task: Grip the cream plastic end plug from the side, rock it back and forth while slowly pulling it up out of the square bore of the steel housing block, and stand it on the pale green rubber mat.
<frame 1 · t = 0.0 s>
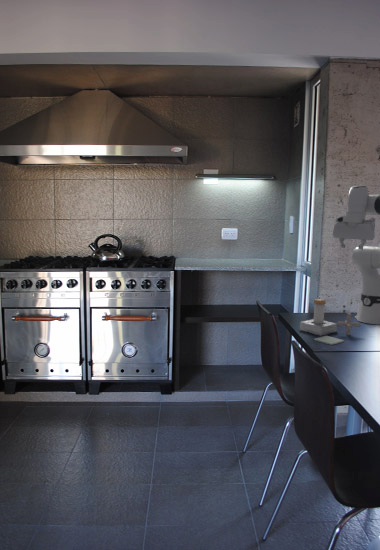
hand: (351, 248, 214), 39 cm above the table, tool pointing down, fingers open, 8 cm apart
rubber mat: (328, 340, 196), on the table
housing block: (318, 331, 212), on the table
pipe connector: (347, 335, 206), on the table
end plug: (318, 315, 211), in the housing block
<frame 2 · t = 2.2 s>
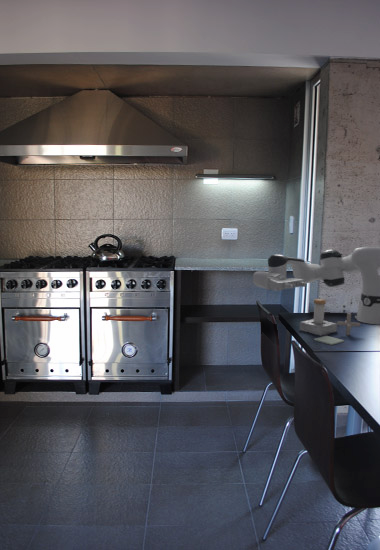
hand: (299, 285, 219), 20 cm above the table, tool horizontal, fingers open, 8 cm apart
nothing on the table moved.
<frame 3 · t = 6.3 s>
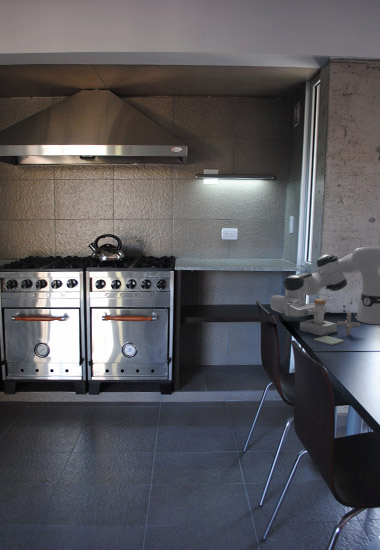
hand: (320, 312, 210), 9 cm above the table, tool horizontal, fingers closed on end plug, 4 cm apart
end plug: (318, 315, 211), in the housing block, touching gripper
everything else where it was.
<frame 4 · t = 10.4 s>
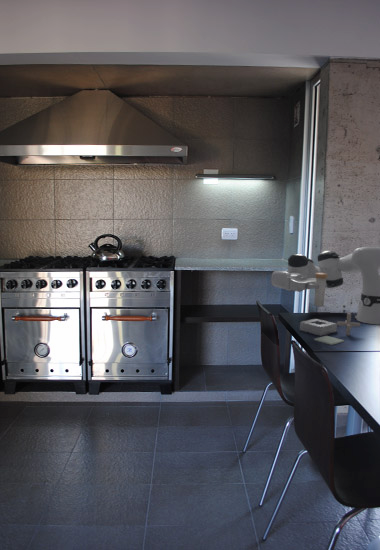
hand: (322, 286, 206), 22 cm above the table, tool horizontal, fingers closed on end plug, 4 cm apart
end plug: (320, 289, 207), point 20 cm above the table, touching gripper
everything else where it was.
when the fingers open (11 cm above the table, at t = 14.4 s): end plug drops 1 cm, resting on rubber mat.
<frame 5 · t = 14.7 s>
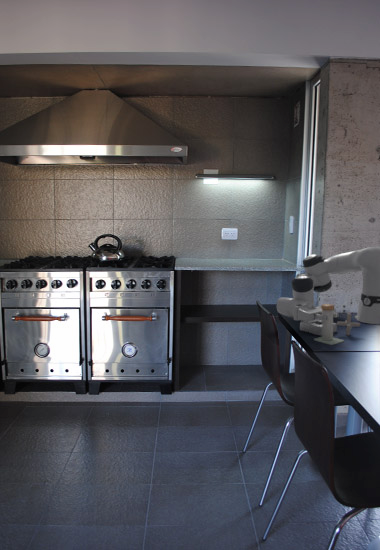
hand: (332, 316, 193), 11 cm above the table, tool horizontal, fingers open, 7 cm apart
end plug: (327, 322, 195), on the rubber mat, point 8 cm above the table
everything else where it was.
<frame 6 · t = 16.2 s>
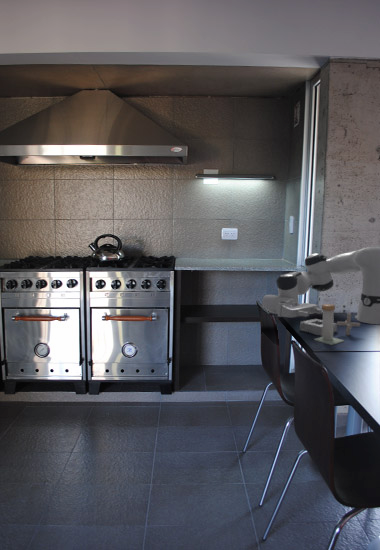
hand: (314, 313, 200), 11 cm above the table, tool horizontal, fingers open, 8 cm apart
nothing on the table moved.
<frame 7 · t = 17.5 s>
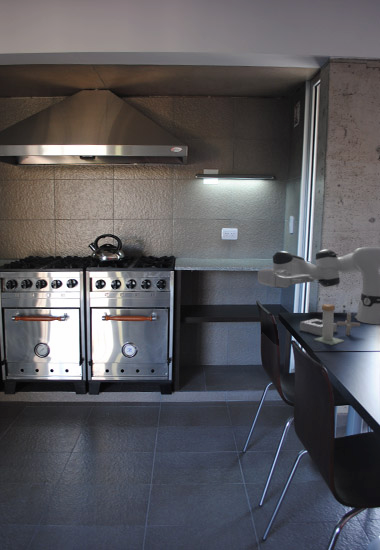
hand: (307, 280, 210), 24 cm above the table, tool horizontal, fingers open, 8 cm apart
nothing on the table moved.
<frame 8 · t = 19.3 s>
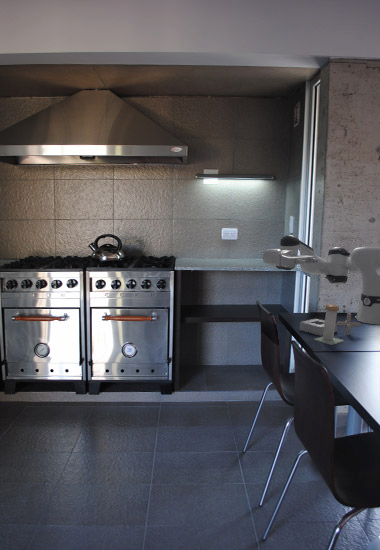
hand: (311, 261, 217), 32 cm above the table, tool horizontal, fingers open, 8 cm apart
at the end: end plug 0.6 cm off-centre on the rubber mat, point 8.3 cm above the rubber mat's base; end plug tilted 5°; the gripper is holding nothing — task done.
